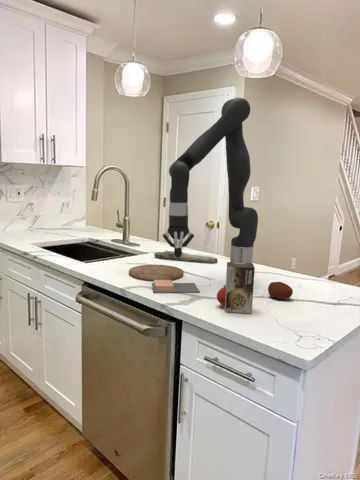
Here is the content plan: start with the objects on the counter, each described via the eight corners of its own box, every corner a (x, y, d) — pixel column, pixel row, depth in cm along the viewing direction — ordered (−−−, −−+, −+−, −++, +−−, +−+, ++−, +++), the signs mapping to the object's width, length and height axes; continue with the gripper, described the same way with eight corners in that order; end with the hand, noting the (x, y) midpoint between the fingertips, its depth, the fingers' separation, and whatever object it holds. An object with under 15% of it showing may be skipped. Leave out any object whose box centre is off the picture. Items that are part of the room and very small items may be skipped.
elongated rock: (215, 268, 199) (218, 264, 208) (216, 258, 198) (219, 255, 208) (151, 258, 207) (156, 255, 216) (152, 248, 206) (157, 246, 216)
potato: (275, 293, 153) (277, 278, 152) (295, 300, 146) (297, 284, 145) (264, 296, 149) (265, 280, 147) (284, 303, 141) (285, 286, 140)
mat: (194, 284, 161) (194, 282, 161) (199, 292, 150) (199, 291, 150) (151, 284, 159) (151, 282, 159) (153, 293, 147) (153, 291, 147)
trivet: (178, 284, 161) (178, 280, 161) (121, 279, 166) (121, 275, 165) (187, 270, 185) (187, 266, 185) (138, 266, 190) (138, 262, 190)
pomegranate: (223, 302, 139) (224, 281, 138) (236, 307, 135) (237, 285, 134) (213, 306, 135) (214, 284, 134) (225, 310, 131) (227, 288, 130)
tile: (173, 286, 149) (155, 286, 148) (173, 290, 150) (155, 290, 148) (170, 279, 158) (154, 279, 157) (170, 284, 158) (153, 284, 157)
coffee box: (249, 307, 135) (253, 262, 132) (251, 314, 129) (255, 267, 126) (223, 305, 136) (226, 261, 133) (224, 312, 129) (227, 265, 127)
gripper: (162, 215, 145) (162, 259, 149) (196, 215, 147) (195, 259, 150) (160, 212, 153) (160, 255, 156) (193, 212, 154) (193, 254, 157)
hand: (178, 257), depth 153 cm, fingers closed
